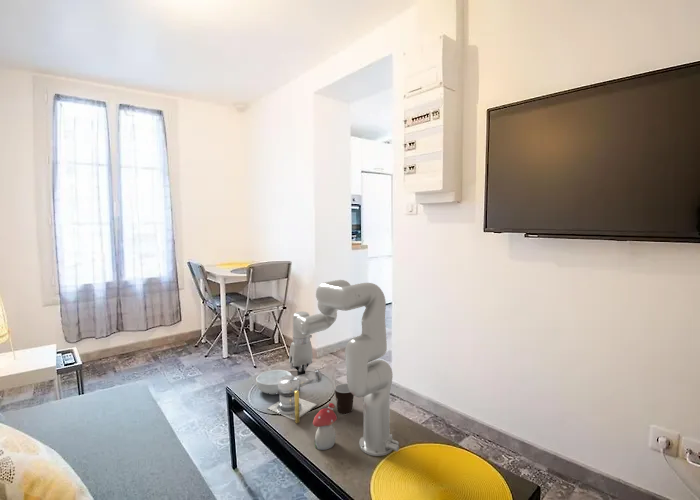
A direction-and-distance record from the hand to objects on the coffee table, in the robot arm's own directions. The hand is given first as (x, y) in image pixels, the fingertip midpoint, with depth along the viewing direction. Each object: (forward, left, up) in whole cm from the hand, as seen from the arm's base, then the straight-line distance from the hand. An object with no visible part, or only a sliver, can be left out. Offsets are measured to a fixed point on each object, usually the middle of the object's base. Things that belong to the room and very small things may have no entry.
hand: (301, 378), depth 166 cm
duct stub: (-2, +8, -10) cm, 13 cm away
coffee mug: (-21, -5, -11) cm, 24 cm away
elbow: (-3, +5, -2) cm, 6 cm away
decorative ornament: (-29, +20, -11) cm, 37 cm away
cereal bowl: (+17, 0, -11) cm, 20 cm away
